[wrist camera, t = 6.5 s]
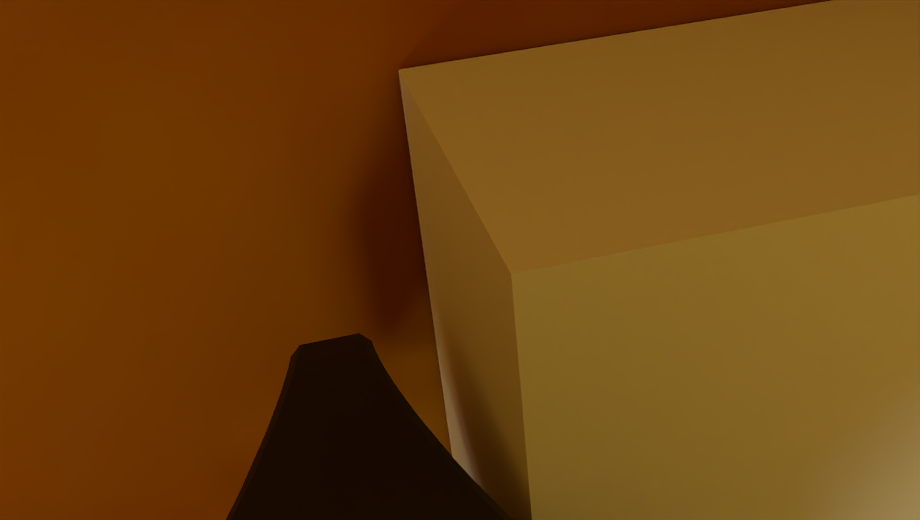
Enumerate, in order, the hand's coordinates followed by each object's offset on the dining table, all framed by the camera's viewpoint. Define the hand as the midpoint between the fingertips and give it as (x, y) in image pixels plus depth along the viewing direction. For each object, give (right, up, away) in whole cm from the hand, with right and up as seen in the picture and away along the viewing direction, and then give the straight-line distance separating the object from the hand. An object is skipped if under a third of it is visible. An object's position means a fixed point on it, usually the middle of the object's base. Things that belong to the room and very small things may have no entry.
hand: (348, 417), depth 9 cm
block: (+4, +2, +2) cm, 5 cm away
